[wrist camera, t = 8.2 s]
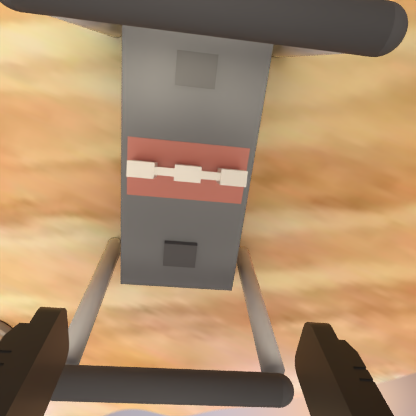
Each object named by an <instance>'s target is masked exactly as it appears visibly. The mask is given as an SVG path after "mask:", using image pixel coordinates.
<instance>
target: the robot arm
mask: <svg viewBox="0 0 416 416" xmlns="http://www.w3.org/2000/svg"><path fill="white" fill-rule="evenodd" d="M68 352H69V333H68V321H67V311H66V309H65V308H51V307H40V308H39V309H38V310H37V312H36V313H35V315H34V317H33V318H32V320H31V321H30V323H19V324H18V325H16V326H15V327H14V328H13V329H11V330H10V331H9V332H7V333H6V334H5V335H4V336H3V337H2V339H1V340H0V416H44V413H45V411H46V409H47V406H48V404H49V402H50V399H51V397H52V394H53V392H54V390H55V387H56V385H57V383H58V380H59V378H60V375H61V373H62V371H63V368H64V366H65V363H66V360H67V357H68ZM295 369H296V374H297V377H298V380H299V383H300V386H301V389H302V392H303V395H304V398H305V401H306V404H307V407H308V409H309V412H310V415H311V416H394V415H393V413H392V412H391V410H390V408H389V407H388V405H387V403H386V401H385V399H384V398H383V396H382V394H381V392H380V391H379V389H378V387H377V385H376V384H375V382H373V378H372V377H371V375H370V373H369V371H368V370H366V366H365V364H364V363H363V361H362V359H361V357H360V356H359V354H358V352H357V351H356V350H354V349H353V348H352V347H351V346H350V345H349V344H348V343H347V342H346V341H345V340H338V338H337V336H336V334H335V332H334V330H333V328H332V327H331V325H330V324H328V323H313V322H306V323H305V325H304V327H303V330H302V334H301V337H300V341H299V344H298V348H297V351H296V355H295Z"/></svg>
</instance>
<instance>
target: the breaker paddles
mask: <svg viewBox="0 0 416 416" xmlns="http://www.w3.org/2000/svg"><path fill="white" fill-rule="evenodd" d="M157 165H158V162H151V161H140V160H127V169H126V177H136V178H147V179H154V178H156V177H157V175H161V176H172V177H174V181H181V182H192V183H200V182H201V179H206V180H216V182H217V183H218V184H220V185H226V186H237V187H246V184H247V175H248V171H244V170H237V169H226V168H218V169H217V172H209V171H202V167H201V166H194V165H183V164H175V168H165V167H157Z"/></svg>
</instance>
